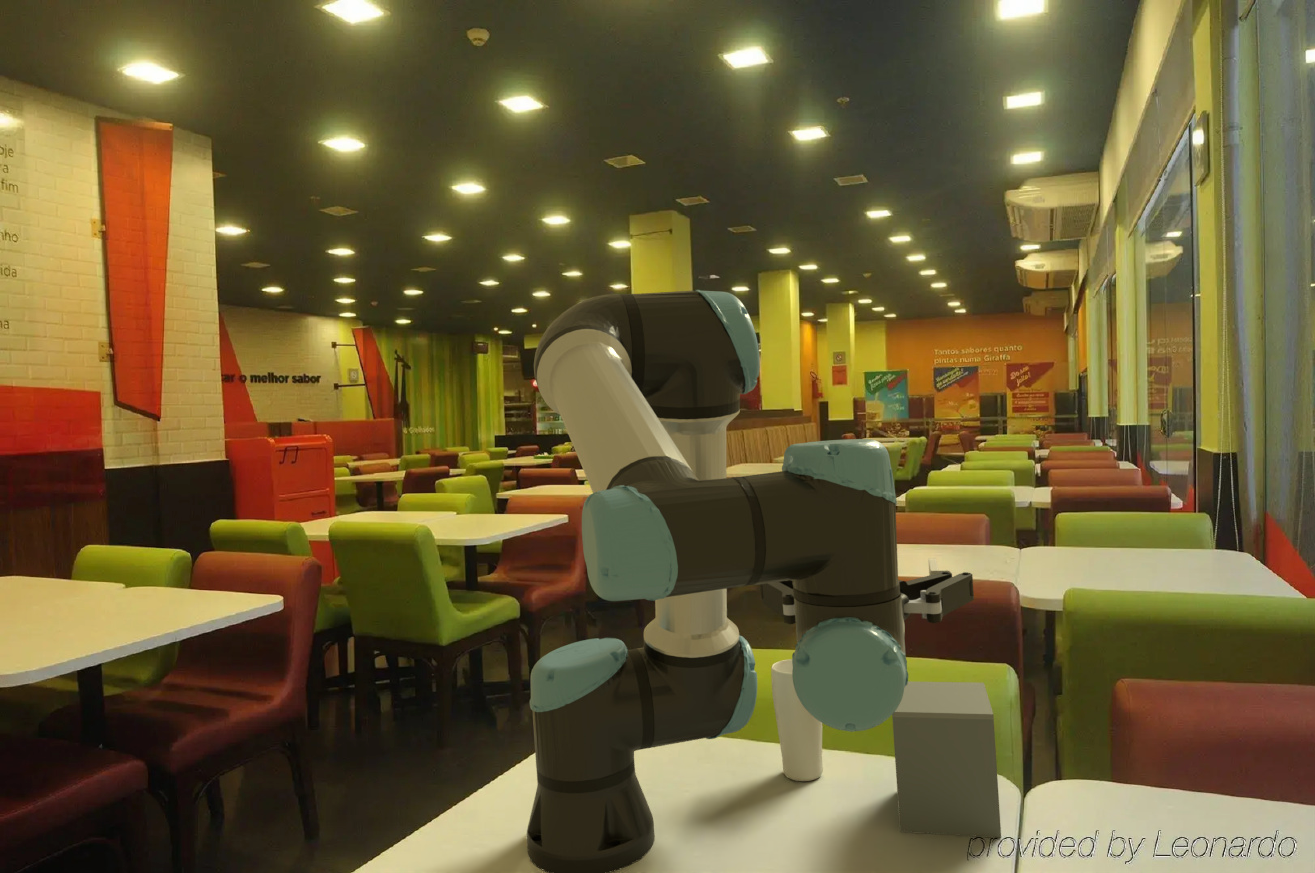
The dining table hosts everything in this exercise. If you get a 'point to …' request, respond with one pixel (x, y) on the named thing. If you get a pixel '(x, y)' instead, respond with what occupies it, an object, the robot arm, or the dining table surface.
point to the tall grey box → (946, 760)
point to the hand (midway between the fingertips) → (866, 572)
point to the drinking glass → (795, 727)
